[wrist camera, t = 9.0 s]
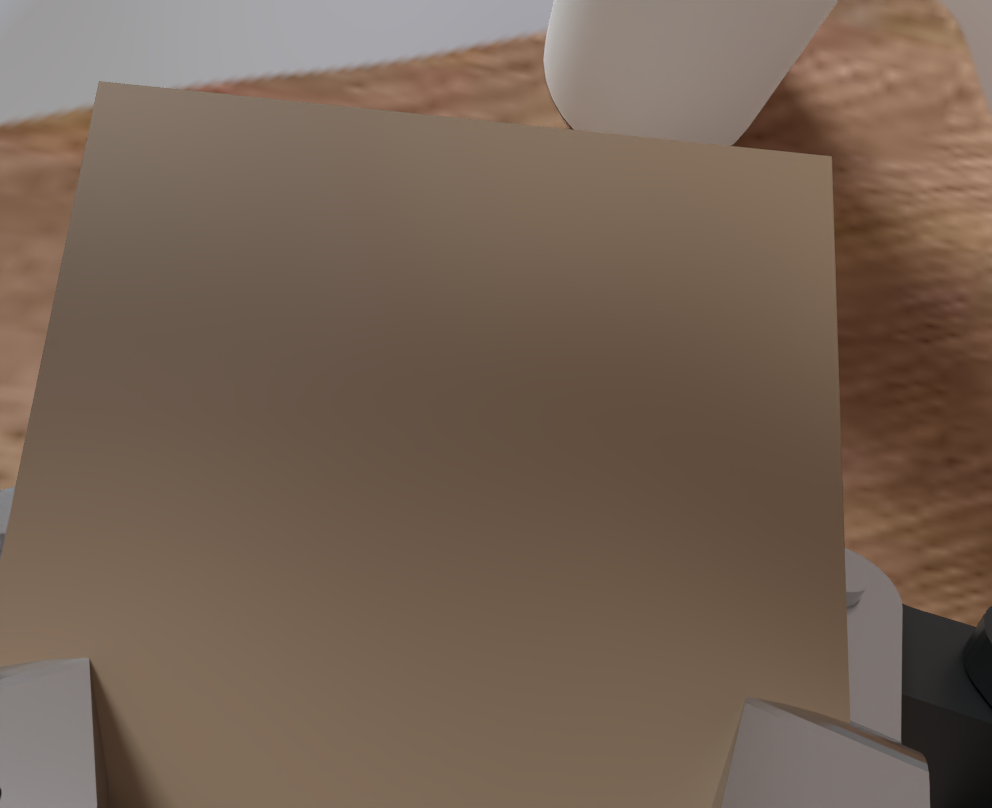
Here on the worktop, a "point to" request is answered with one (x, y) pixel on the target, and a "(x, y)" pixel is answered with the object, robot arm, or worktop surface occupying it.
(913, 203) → the worktop surface
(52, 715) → the robot arm
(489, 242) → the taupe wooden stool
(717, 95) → the cylindrical container
